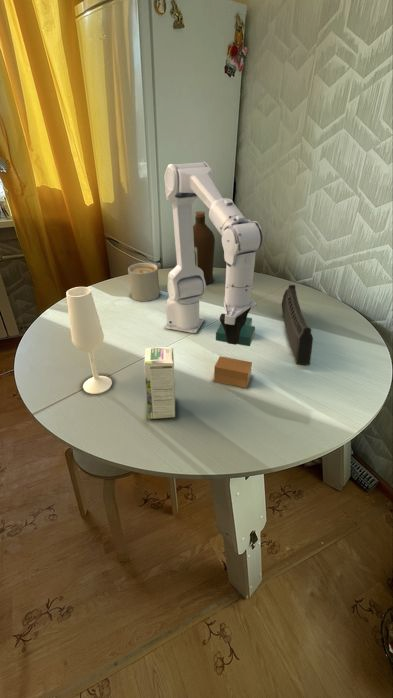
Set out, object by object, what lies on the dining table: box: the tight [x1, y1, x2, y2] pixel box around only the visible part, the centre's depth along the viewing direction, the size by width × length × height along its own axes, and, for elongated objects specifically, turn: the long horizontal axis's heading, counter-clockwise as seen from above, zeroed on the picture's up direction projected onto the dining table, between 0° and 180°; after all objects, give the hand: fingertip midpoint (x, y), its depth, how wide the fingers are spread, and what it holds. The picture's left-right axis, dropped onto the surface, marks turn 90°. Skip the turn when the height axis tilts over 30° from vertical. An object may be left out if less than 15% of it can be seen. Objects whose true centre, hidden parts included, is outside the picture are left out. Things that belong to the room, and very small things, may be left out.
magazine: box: [281, 284, 314, 367], centre depth 98 cm, size 17×3×30 cm
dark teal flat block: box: [215, 323, 256, 347], centre depth 82 cm, size 8×5×2 cm
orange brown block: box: [213, 355, 253, 381], centre depth 84 cm, size 8×5×2 cm, turn 72°
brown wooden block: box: [213, 371, 252, 389], centre depth 85 cm, size 8×5×2 cm, turn 72°
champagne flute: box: [65, 286, 113, 395], centre depth 77 cm, size 7×7×24 cm
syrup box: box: [143, 346, 176, 420], centre depth 73 cm, size 6×6×14 cm
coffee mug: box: [127, 262, 160, 302], centre depth 123 cm, size 13×10×10 cm
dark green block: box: [245, 316, 253, 326], centre depth 101 cm, size 8×5×2 cm
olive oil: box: [193, 210, 216, 285], centre depth 128 cm, size 11×11×25 cm
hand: (235, 336), depth 82 cm, fingers closed on dark teal flat block, 5 cm apart
